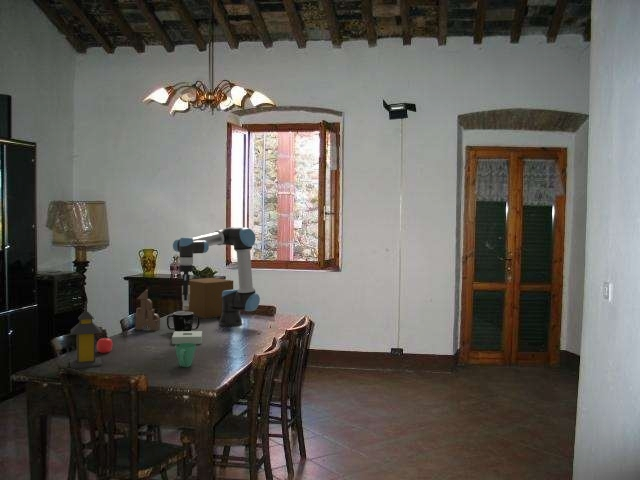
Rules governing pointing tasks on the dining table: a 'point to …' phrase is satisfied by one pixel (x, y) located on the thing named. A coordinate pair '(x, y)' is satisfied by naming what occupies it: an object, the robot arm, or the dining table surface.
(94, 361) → the lantern
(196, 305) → the wood block
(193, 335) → the board
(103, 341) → the red rounded cube
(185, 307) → the leg
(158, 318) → the wooden toy
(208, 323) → the dining table surface
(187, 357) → the mug
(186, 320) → the mug
